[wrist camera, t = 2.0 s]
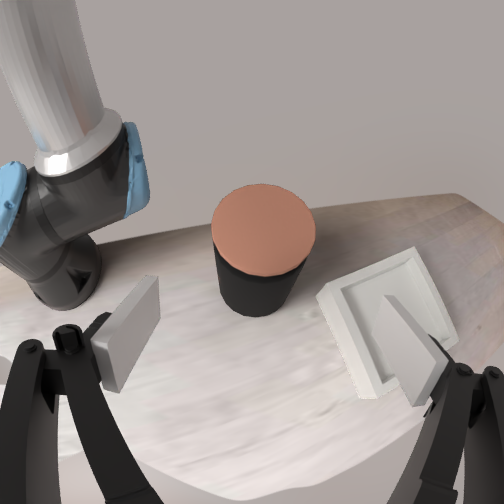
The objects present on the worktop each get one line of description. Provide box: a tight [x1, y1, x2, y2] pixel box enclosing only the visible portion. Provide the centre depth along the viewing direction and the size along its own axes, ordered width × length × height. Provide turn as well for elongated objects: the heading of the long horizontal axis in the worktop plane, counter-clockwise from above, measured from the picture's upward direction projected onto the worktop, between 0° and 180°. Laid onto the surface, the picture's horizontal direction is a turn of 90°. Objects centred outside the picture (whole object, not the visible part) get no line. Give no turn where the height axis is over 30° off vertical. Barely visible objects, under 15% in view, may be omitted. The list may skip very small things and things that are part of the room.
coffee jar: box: [211, 184, 316, 317], centre depth 37 cm, size 11×11×18 cm
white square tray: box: [315, 246, 460, 399], centre depth 40 cm, size 18×18×6 cm
